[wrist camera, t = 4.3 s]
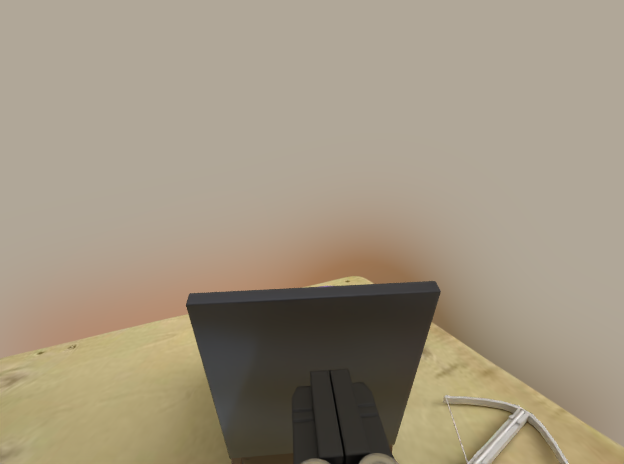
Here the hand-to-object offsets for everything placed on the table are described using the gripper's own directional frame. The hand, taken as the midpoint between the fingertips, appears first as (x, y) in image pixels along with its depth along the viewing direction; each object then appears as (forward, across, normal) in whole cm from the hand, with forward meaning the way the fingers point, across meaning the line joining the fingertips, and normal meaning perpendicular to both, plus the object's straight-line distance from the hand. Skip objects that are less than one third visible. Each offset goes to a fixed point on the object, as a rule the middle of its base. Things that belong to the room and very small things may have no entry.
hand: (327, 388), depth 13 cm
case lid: (+7, 0, +6) cm, 10 cm away
